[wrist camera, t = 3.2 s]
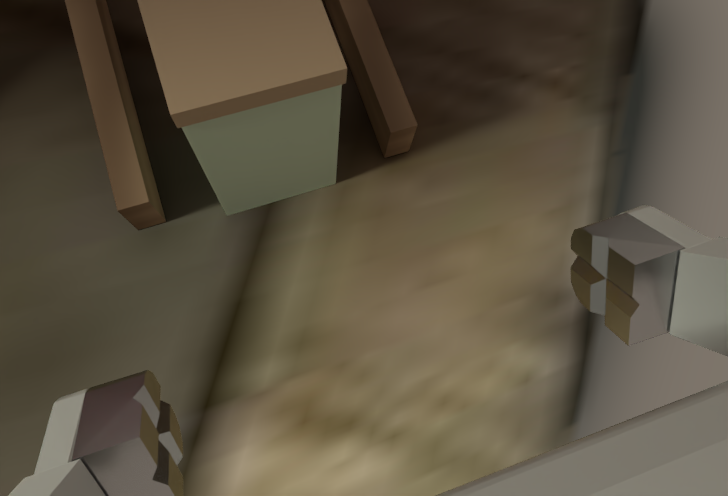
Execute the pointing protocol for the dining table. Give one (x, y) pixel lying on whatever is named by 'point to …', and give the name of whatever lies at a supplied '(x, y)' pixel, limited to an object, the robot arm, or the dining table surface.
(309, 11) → the cream tall block
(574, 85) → the dining table surface
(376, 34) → the bay
